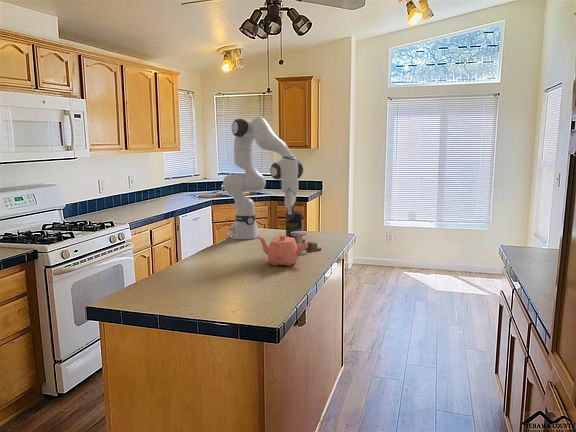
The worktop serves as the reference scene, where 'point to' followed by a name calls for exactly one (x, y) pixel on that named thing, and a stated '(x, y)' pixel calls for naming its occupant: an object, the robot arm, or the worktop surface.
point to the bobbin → (299, 239)
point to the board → (311, 246)
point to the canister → (293, 224)
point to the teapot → (282, 250)
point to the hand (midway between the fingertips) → (290, 213)
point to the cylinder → (291, 216)
